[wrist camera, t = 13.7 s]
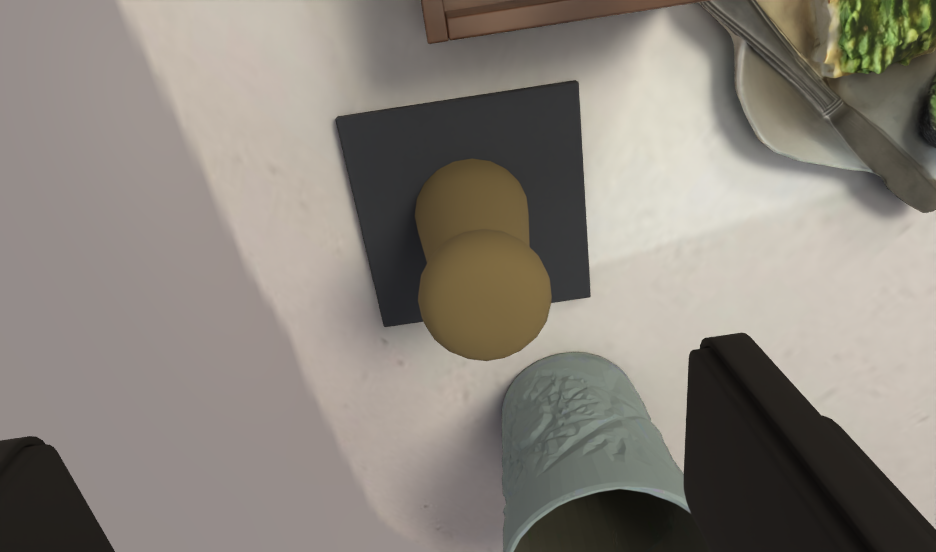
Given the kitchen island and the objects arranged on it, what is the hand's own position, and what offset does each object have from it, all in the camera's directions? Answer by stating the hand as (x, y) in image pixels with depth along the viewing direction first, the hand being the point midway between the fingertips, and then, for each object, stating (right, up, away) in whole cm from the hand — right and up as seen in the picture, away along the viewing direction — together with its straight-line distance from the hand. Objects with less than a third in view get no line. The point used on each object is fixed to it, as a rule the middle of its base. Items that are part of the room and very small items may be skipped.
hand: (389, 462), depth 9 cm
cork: (+1, +6, +23) cm, 24 cm away
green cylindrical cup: (+7, -6, +30) cm, 31 cm away
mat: (+1, +6, +23) cm, 24 cm away
